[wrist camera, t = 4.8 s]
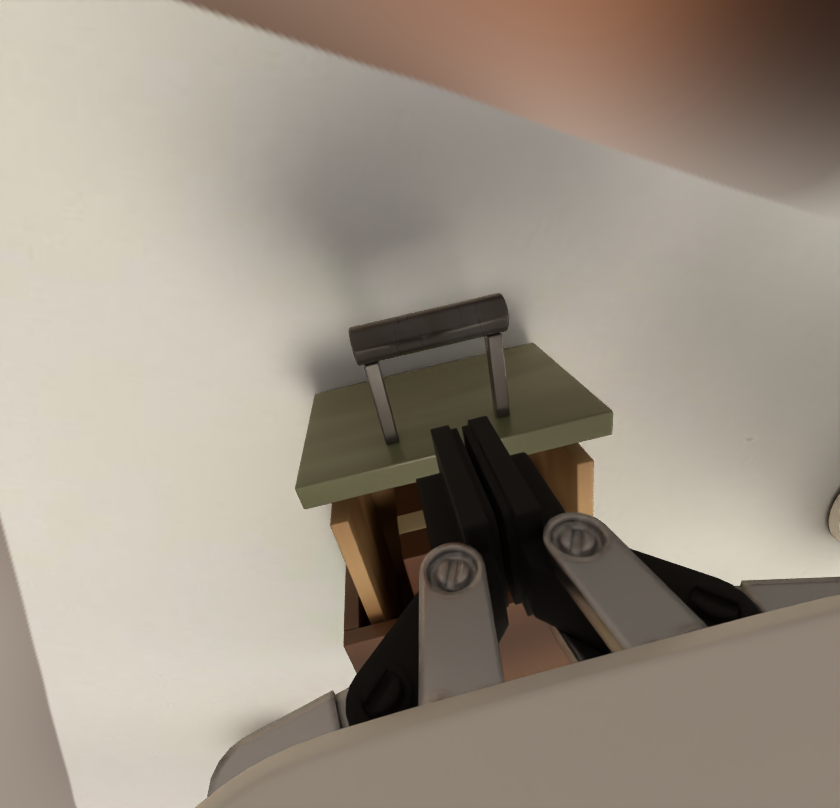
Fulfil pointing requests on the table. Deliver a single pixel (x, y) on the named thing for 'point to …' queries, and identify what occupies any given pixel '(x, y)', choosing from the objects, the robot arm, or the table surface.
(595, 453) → the table surface
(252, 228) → the table surface
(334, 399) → the drawer
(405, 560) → the snack box
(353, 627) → the cabinet
